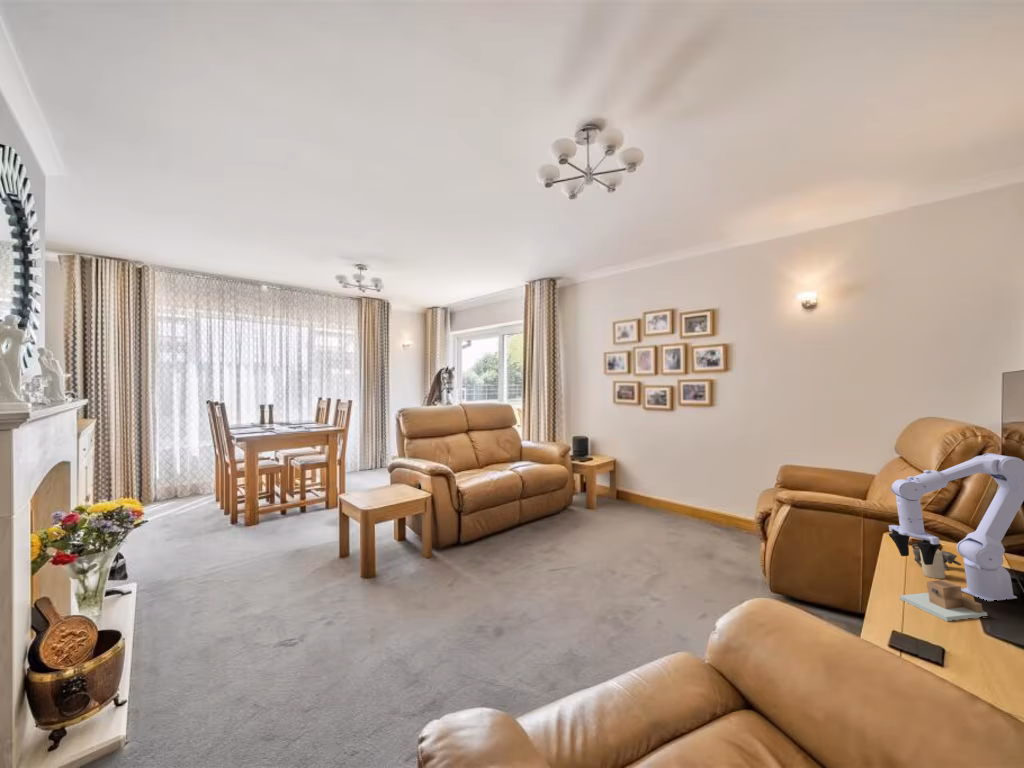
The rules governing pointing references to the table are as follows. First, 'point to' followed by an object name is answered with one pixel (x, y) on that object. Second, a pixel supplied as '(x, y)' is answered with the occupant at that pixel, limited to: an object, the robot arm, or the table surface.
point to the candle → (934, 566)
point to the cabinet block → (945, 594)
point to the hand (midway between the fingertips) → (916, 559)
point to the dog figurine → (946, 555)
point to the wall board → (923, 602)
